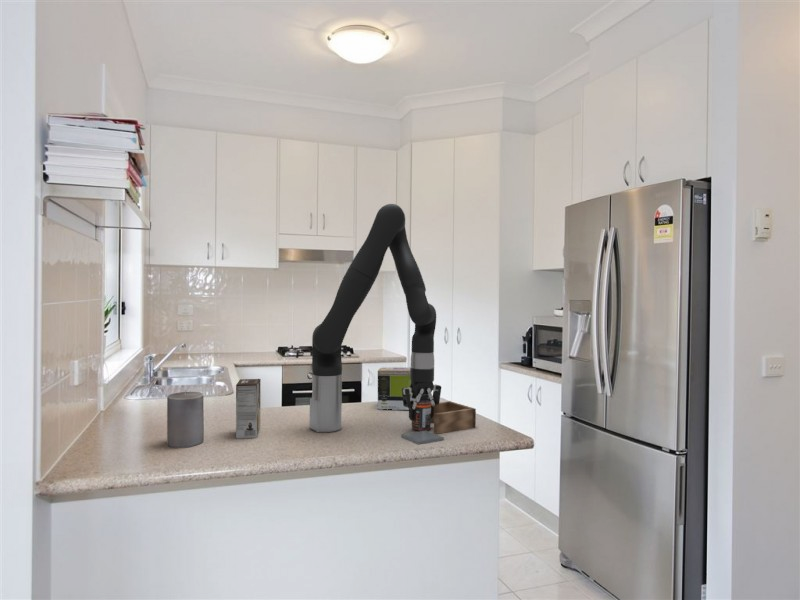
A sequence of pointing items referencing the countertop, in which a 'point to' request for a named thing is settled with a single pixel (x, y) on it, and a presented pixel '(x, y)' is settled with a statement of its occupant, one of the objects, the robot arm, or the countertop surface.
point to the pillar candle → (185, 419)
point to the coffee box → (248, 408)
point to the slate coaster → (422, 437)
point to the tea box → (392, 387)
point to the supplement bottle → (422, 414)
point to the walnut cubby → (453, 417)
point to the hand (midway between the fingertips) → (421, 419)
